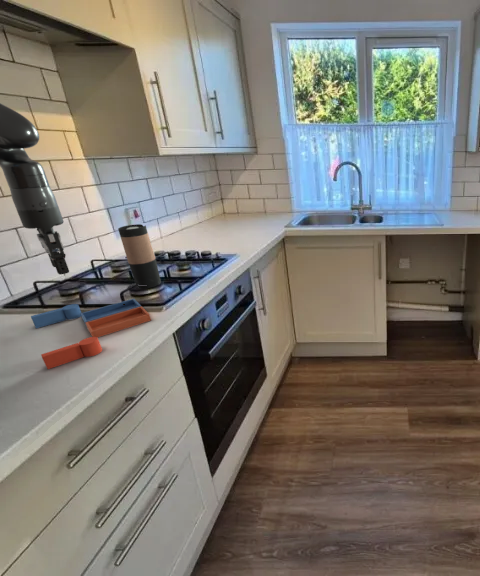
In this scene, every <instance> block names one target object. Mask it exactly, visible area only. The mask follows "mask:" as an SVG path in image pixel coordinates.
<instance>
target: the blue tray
mask: <svg viewBox="0 0 480 576" xmlns="http://www.w3.org/2000/svg"><path fill="white" fill-rule="evenodd" d="M123 304H125V305H123ZM141 306H142V305H141V304H140V302H138V301H137V300H136V299H135V298H131V299H127V300H124V301H120V302H115V303H112V304H108V305H105V306H101V307H98V308H94V309H91V310H87V311H83V312H81V313H80V315H81V317H80V318H81V319H82V321H83V323H84V325H85V327H86V328H87V326H86V322H89V321H93V320H96V319H100V318H103V317H106V316H110V315H113V314H117V313H120V312H124V311H127V310H130V309H134V308H137V307H141Z"/></svg>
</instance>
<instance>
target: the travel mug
mask: <svg viewBox="0 0 480 576" xmlns="http://www.w3.org/2000/svg"><path fill="white" fill-rule="evenodd" d="M117 230H118V233H119V236H120V240H121V243H122V246H123V249H124V253H125V256H126V261H127V263H128V266H129V269H130V271H131V274H132V277H133V279H134V282H135V285H136V284H139V285H147V286H138V285H136V287H137V286H138V287H139V288H138V287H137V288H138V289H141V290H142V289H144V290H145V289H151V288H154V287H158V286H159V285H161V284H162V280H161V279H162V278H161V275H160V272H159V268H158V263H157V259H156V256H155V252H154V249H153V245H152V243H151V240H150V235H149V233H148V229H147V225H143V224H140V223H138V224H136V223H135V224H128V225H124V226H120V227H118V228H117Z"/></svg>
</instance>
